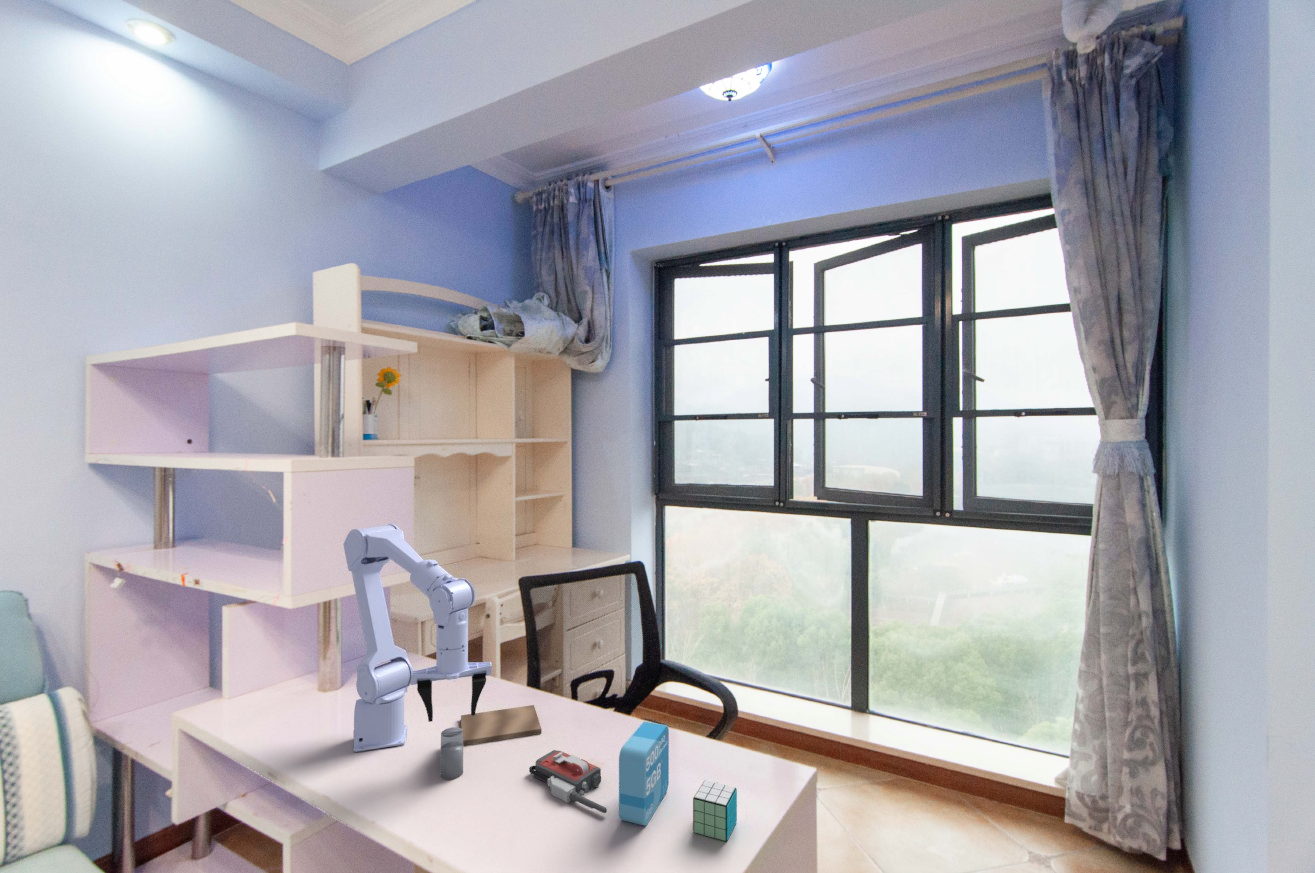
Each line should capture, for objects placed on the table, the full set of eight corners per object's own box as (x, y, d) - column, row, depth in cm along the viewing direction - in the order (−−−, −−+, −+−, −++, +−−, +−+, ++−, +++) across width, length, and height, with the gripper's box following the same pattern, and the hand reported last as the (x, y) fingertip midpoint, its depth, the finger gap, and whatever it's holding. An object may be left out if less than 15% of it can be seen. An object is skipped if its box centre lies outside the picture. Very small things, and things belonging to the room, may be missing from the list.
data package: (644, 830, 96) (644, 755, 96) (618, 823, 98) (618, 749, 98) (669, 789, 107) (669, 722, 107) (645, 784, 109) (645, 717, 109)
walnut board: (462, 745, 122) (462, 740, 122) (460, 719, 134) (460, 715, 134) (541, 733, 128) (541, 728, 128) (533, 709, 139) (533, 704, 139)
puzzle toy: (727, 842, 93) (726, 806, 93) (692, 833, 96) (692, 797, 96) (737, 821, 98) (737, 786, 98) (704, 812, 101) (704, 778, 101)
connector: (440, 781, 110) (440, 753, 110) (441, 747, 122) (441, 722, 122) (463, 777, 111) (463, 750, 111) (462, 744, 123) (462, 719, 123)
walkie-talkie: (519, 781, 110) (601, 822, 98) (519, 757, 110) (601, 795, 98) (554, 760, 117) (635, 797, 106) (554, 738, 117) (635, 771, 106)
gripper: (410, 656, 109) (409, 731, 109) (492, 647, 114) (492, 719, 114) (412, 643, 116) (412, 714, 116) (490, 635, 120) (490, 703, 120)
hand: (452, 716), depth 115 cm, fingers open, 7 cm apart
